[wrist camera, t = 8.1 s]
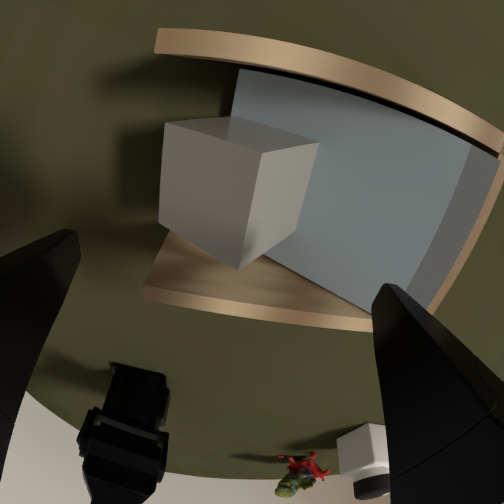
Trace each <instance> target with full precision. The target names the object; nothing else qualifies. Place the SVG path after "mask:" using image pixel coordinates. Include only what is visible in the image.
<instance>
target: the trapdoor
mask: <svg viewBox="0 0 504 504" xmlns="http://www.w3.org/2000/svg"><path fill="white" fill-rule="evenodd" d="M232 116H237V117H241V118H244V119H248V120H251V121H255V122H258V123H262V124H265V125H268V126H272V127H275V128H278V129H281V130H284V131H288V132H291V133H294V134H297V135H300V136H303V137H305V138H308V139H311V140H314V141H317V142H319V146H318V149H317V153H316V157H315V161H314V164H313V168H312V172H311V175H310V179H309V183H308V186H307V190H306V193H305V197H304V200H303V204H302V207H301V211H300V214H299V218H298V221H297V225H296V228H295V232H293V233H292V234H291V235H289V236H288V237H286V238H285V239H284V240H282V241H281V242H279V243H278V244H276V245H275V246H274V247H272V248H271V249H269V250H268V251H266V252H265V253H264V255H266V256H267V257H269V258H271V259H273V260H275V261H276V262H278V263H280V264H282V265H284V266H286V267H287V268H289V269H291V270H293V271H295V272H297V273H298V274H300V275H302V276H304V277H306V278H307V279H309V280H311V281H313V282H315V283H317V284H318V285H320V286H322V287H324V288H326V289H327V290H329V291H331V292H333V293H335V294H336V295H338V296H340V297H342V298H344V299H346V300H347V301H349V302H351V303H353V304H355V305H356V306H358V307H360V308H362V309H364V310H365V311H367V312H369V313H371V306H372V303H373V301H374V299H375V297H376V295H377V293H378V292H379V290H380V288H381V286H382V285H383V284H384V283H391V284H396V285H398V286H399V287H400V288H401V289H403V290H404V291H405V292H406V293H407V294H408V295H410V296H411V297H412V298H413V299H414V300H415V301H417V302H418V303H419V304H420V305H421V306H422V307H423V308H425V309H427V308H428V306H429V305H430V303H431V301H432V300H433V298H434V297H435V295H436V294H437V292H438V290H439V289H440V287H441V285H442V284H443V282H444V280H445V279H446V277H447V275H448V274H449V272H450V270H451V268H452V267H453V265H454V263H455V261H456V259H457V257H458V256H459V254H460V252H461V250H462V248H463V246H464V244H465V242H466V240H467V238H468V236H469V234H470V232H471V230H472V228H473V226H474V224H475V222H476V220H477V218H478V216H479V214H480V211H481V209H482V207H483V205H484V202H485V200H486V198H487V195H488V193H489V191H490V188H491V186H492V183H493V181H494V178H495V175H496V173H497V170H498V167H499V165H500V162H501V161H500V160H498V159H497V158H495V157H493V156H492V155H490V154H488V153H486V152H485V151H483V150H481V149H479V148H477V147H476V146H474V145H472V144H470V143H468V142H466V141H464V140H462V139H460V138H458V137H456V136H454V135H452V134H450V133H448V132H446V131H444V130H442V129H440V128H437V127H435V126H433V125H431V124H429V123H426V122H424V121H422V120H419V119H417V118H415V117H412V116H410V115H407V114H405V113H402V112H400V111H397V110H395V109H392V108H389V107H387V106H384V105H381V104H378V103H376V102H373V101H370V100H367V99H364V98H361V97H358V96H355V95H351V94H348V93H345V92H342V91H338V90H335V89H331V88H328V87H324V86H320V85H316V84H313V83H309V82H305V81H300V80H296V79H292V78H287V77H282V76H278V75H273V74H268V73H262V72H257V71H251V70H245V69H239V74H238V79H237V85H236V90H235V95H234V101H233V106H232V112H231V117H232Z"/></svg>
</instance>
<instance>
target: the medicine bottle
mask: <svg viewBox="0 0 504 504" xmlns="http://www.w3.org/2000/svg"><path fill="white" fill-rule="evenodd" d="M337 449H338V458H339V468H340V475H341V476H355V478H354V479H353V486H354V496H355V498H356V499H359V500H367V499H373V498H377V497H380V496H383V495H386V494H388V493H390V480H391V479H390V475H389V461H388V449H387V438H386V429H385V425H379V424H373V423H366V424H364V425H362V426H361V427H359V428H357V429H355V430H353V431H351V432H349V433H347V434H345V435H343V436H341V437H339V438H337Z"/></svg>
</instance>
